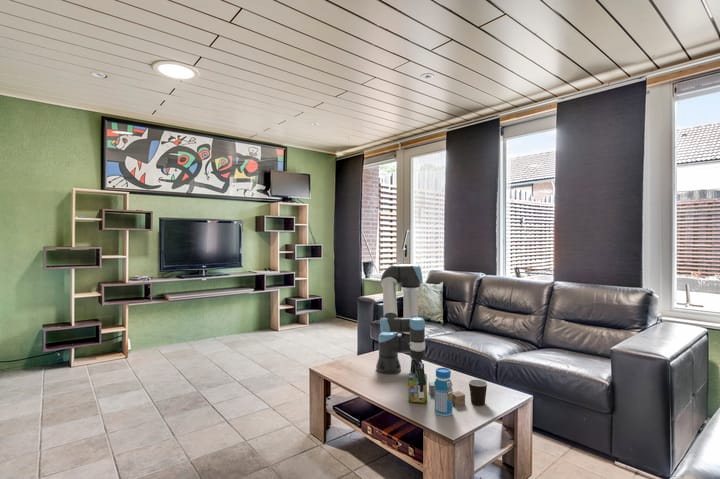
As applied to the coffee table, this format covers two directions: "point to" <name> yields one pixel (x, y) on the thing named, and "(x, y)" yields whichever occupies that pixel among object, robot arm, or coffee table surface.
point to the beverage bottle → (443, 392)
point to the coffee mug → (478, 392)
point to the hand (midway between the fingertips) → (417, 392)
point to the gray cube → (431, 388)
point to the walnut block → (458, 398)
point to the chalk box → (416, 388)
